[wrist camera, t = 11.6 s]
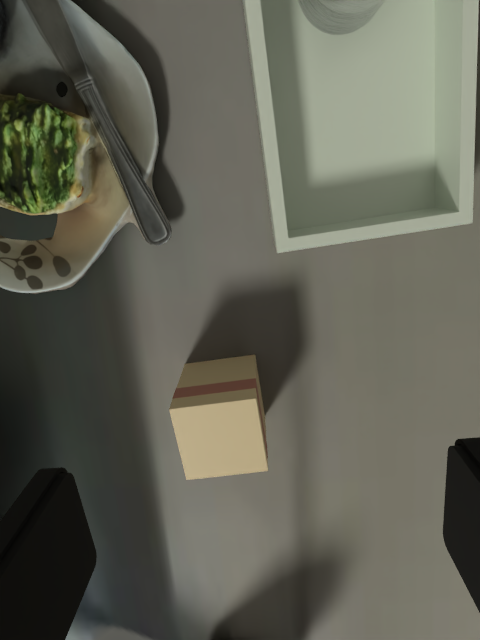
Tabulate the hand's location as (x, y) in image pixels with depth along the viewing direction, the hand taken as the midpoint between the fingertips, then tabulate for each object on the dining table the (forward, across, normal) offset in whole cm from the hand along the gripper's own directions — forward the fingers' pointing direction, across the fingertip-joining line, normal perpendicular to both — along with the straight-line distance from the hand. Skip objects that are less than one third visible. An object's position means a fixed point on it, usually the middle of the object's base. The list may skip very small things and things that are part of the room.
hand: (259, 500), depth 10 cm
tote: (+18, -6, -13) cm, 23 cm away
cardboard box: (+18, +3, +7) cm, 20 cm away
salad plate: (+18, +14, -12) cm, 26 cm away
